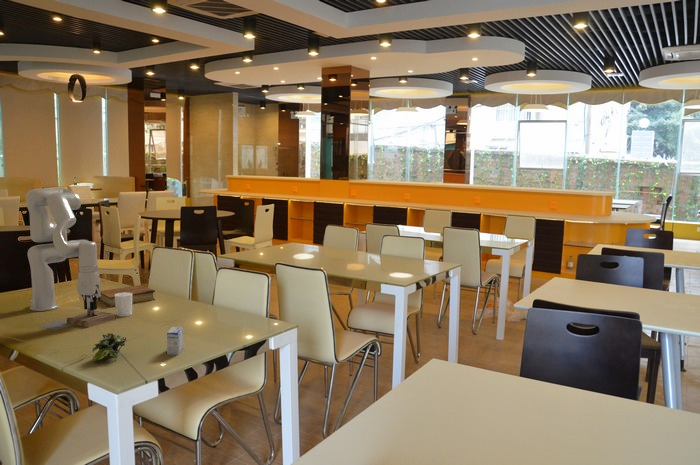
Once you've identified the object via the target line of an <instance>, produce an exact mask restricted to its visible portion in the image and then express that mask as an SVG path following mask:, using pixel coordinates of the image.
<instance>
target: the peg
mask: <svg viewBox="0 0 700 465" xmlns="http://www.w3.org/2000/svg"><path fill="white" fill-rule="evenodd" d="M93 297H94V296H93ZM86 298H87V309H86V312H87V316H88V317H93V316H95V311H96V310H92V311H91V310H90V302H91V299H90V296H89V295H86Z"/></svg>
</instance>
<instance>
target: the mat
mask: <svg viewBox="0 0 700 465" xmlns="http://www.w3.org/2000/svg"><path fill="white" fill-rule="evenodd" d="M72 326H75V325H74V324H69V323H67V321H62V320H55V321H52V322H48V323H44V324H42V325H41V324H40V325H38V327H39V328H45V329H48V330H49V329H50V330H54V331H57V330H61V329H65V328H68V327H72Z"/></svg>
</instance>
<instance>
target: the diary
mask: <svg viewBox="0 0 700 465" xmlns="http://www.w3.org/2000/svg"><path fill="white" fill-rule="evenodd" d="M125 292H128V293H132V305H133V304H138V303H145V302H146V303H147V302H152V300H153V301H156V298H154V293H155V292H156V290H155V289H152V288H149V287H147V286H145V285H141V284H139V285H133V286H125V287H117V288H112V289H111V288H110V289H105V290H101V292H100V293H101V296H100V297H99V298H98V300H97V301H98V302H100V303H102V304H103V305H106V306H108V307H110V308H116V306H115V294H117V293H125Z"/></svg>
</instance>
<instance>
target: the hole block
mask: <svg viewBox="0 0 700 465" xmlns="http://www.w3.org/2000/svg"><path fill="white" fill-rule="evenodd" d="M94 311H95V316H93V317H88V316H87V311H85V312H83V313H78V314H74V315H72V316H68V317H66V322H67V323H69V324H74V325H73V326H78V327H79V326H80V327H83V328H91V327H95V326H99V325H101V324H105V323H109V322H112V321H115V319H116V317H115V315H116V314H115V313H110V312H105V311H99V310H94Z"/></svg>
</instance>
